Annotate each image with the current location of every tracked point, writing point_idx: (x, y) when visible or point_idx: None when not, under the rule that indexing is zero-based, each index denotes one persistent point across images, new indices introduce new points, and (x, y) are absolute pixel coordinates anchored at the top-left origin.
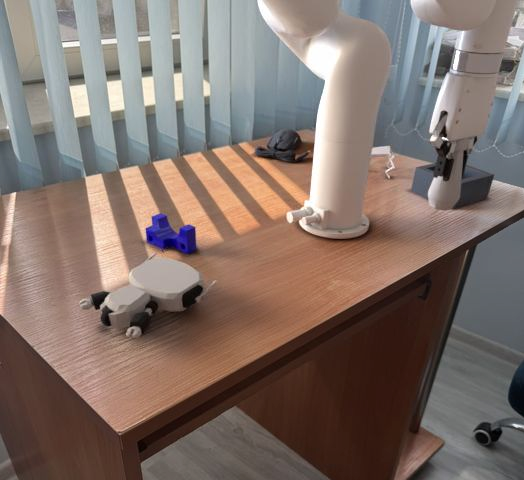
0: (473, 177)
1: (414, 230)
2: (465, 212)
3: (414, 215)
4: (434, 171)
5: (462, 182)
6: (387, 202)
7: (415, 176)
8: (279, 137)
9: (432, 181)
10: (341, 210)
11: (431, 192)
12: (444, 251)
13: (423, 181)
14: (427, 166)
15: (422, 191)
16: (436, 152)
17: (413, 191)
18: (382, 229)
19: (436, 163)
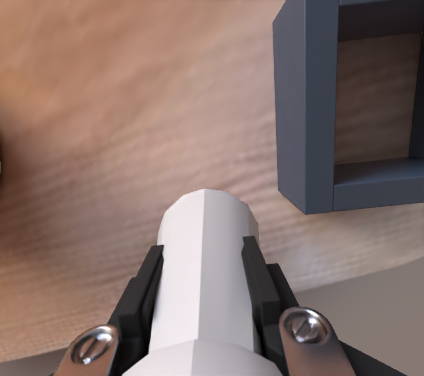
0: (411, 187)
1: (101, 247)
2: (291, 218)
3: (155, 182)
4: (148, 255)
5: (328, 210)
6: (138, 74)
7: (289, 4)
8: None
9: (176, 217)
10: None
11: (158, 234)
12: None
13: (289, 55)
14: None
15: (278, 71)
16: (72, 346)
17: (273, 34)
18: (29, 215)
19: (137, 279)
